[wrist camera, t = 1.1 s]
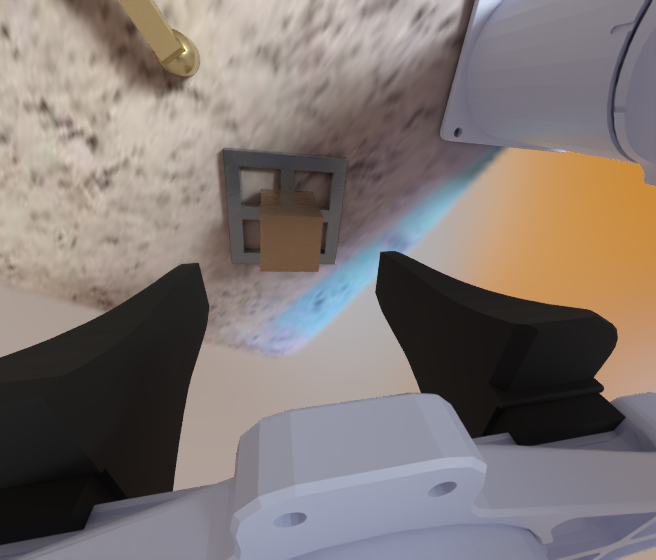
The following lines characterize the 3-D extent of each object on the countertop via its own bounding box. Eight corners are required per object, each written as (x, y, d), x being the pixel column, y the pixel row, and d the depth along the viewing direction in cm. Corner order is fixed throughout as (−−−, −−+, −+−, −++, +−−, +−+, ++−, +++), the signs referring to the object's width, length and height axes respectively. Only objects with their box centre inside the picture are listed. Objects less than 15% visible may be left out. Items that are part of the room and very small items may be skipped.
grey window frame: (346, 157, 18) (370, 177, 13) (333, 260, 21) (349, 301, 17) (224, 147, 16) (208, 165, 12) (232, 259, 20) (222, 303, 16)
